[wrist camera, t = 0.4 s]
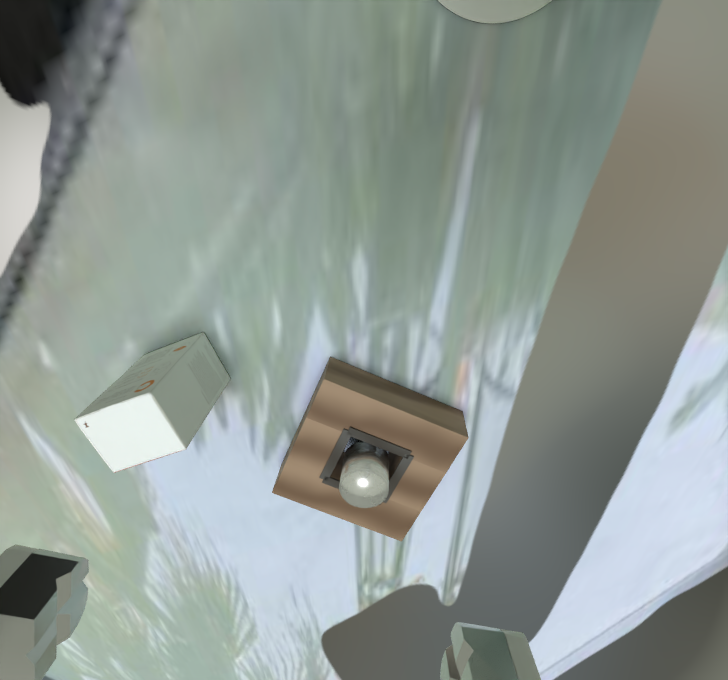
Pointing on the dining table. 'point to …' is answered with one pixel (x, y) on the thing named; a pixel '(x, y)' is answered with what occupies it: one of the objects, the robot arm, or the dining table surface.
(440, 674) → the robot arm
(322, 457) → the socket block
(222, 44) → the dining table surface
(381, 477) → the peg
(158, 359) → the small box
